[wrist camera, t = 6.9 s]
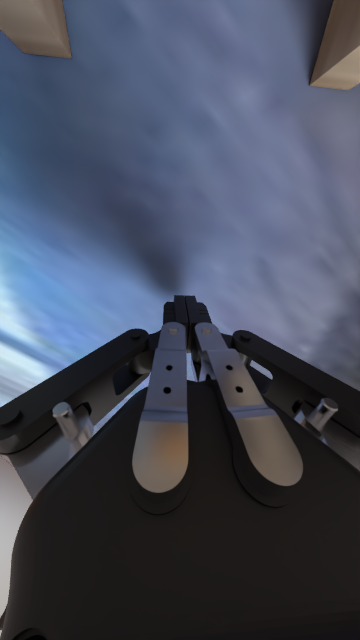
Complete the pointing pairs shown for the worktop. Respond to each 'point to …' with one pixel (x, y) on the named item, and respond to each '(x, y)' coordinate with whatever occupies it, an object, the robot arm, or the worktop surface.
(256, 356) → the robot arm
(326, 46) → the bridge
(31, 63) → the worktop surface
